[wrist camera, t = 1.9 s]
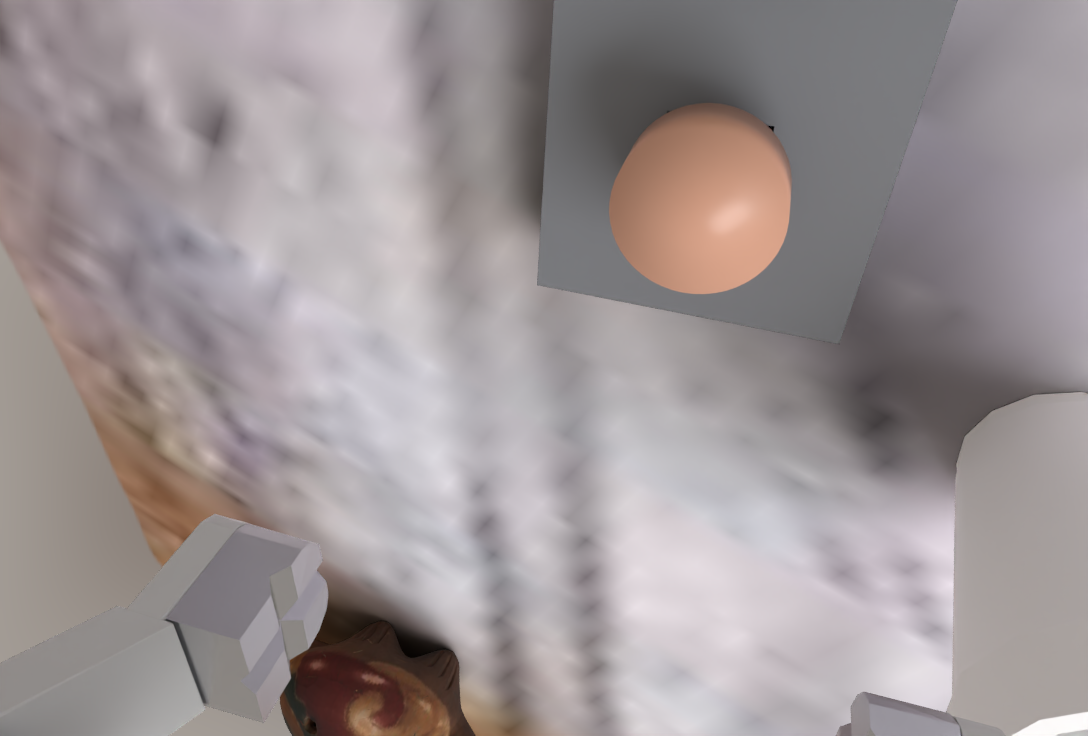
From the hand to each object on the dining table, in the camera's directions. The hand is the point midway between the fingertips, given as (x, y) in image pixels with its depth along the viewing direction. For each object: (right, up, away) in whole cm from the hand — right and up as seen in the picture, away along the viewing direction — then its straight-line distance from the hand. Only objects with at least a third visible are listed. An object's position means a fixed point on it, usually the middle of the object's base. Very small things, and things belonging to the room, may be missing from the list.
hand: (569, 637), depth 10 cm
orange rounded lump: (+5, +10, +14) cm, 18 cm away
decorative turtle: (-9, -14, +39) cm, 42 cm away
